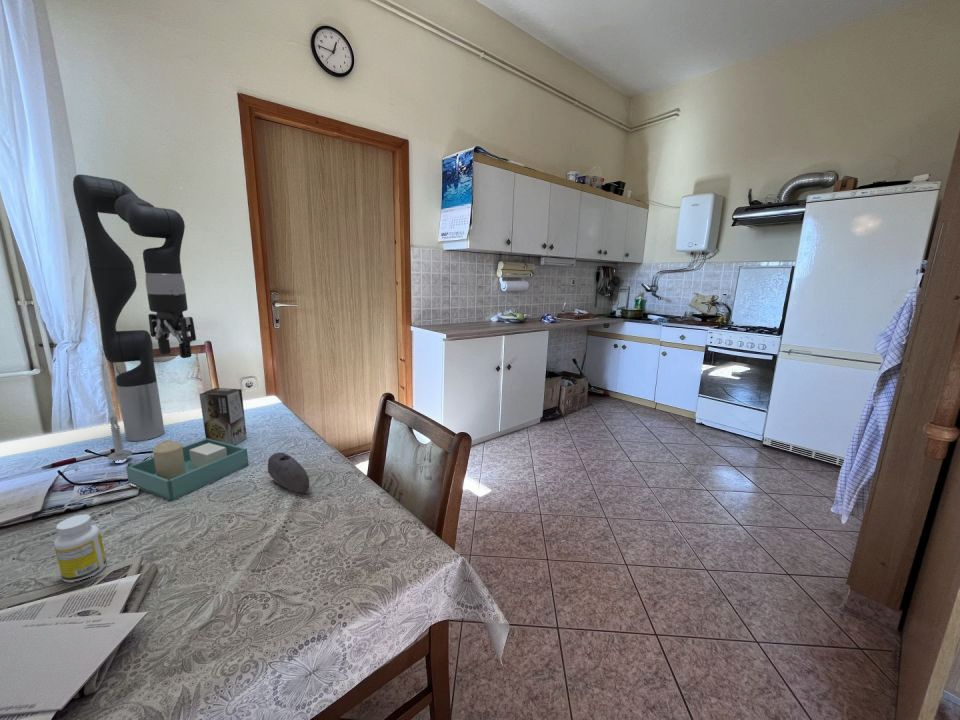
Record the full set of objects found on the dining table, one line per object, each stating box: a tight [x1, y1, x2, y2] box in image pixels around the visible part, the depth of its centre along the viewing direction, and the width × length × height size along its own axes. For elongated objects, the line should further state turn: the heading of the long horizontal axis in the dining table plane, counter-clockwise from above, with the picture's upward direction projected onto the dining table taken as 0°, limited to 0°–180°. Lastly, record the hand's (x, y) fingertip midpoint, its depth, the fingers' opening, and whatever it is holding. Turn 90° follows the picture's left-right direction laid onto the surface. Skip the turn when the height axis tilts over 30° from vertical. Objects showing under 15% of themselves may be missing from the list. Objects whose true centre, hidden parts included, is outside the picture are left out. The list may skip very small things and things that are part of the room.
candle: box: [152, 439, 186, 480], centre depth 94 cm, size 6×6×10 cm
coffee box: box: [199, 387, 248, 446], centre depth 117 cm, size 9×6×16 cm
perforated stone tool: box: [267, 452, 310, 494], centre depth 94 cm, size 15×5×7 cm, turn 51°
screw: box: [107, 416, 133, 462], centre depth 103 cm, size 13×5×5 cm
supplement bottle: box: [53, 514, 107, 583], centre depth 65 cm, size 5×5×10 cm
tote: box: [125, 438, 249, 502], centre depth 98 cm, size 16×19×5 cm
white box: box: [189, 443, 227, 468], centre depth 102 cm, size 7×5×4 cm
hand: (175, 355), depth 100 cm, fingers open, 8 cm apart
